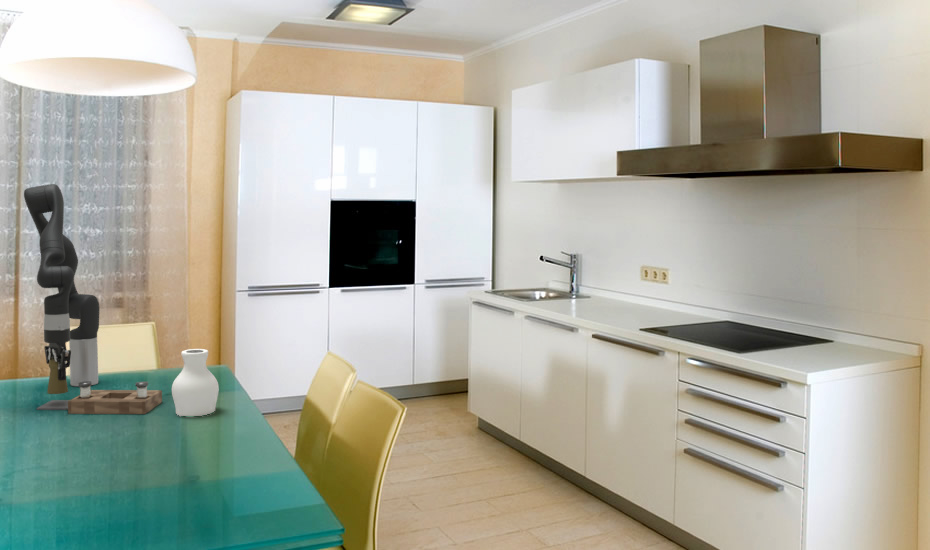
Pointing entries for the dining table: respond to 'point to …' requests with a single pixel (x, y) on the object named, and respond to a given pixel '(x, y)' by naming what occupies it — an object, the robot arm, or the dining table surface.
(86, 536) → the dining table surface
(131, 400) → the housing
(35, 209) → the robot arm
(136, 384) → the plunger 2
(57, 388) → the cork
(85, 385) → the plunger
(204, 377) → the vase
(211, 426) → the dining table surface
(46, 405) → the pad
